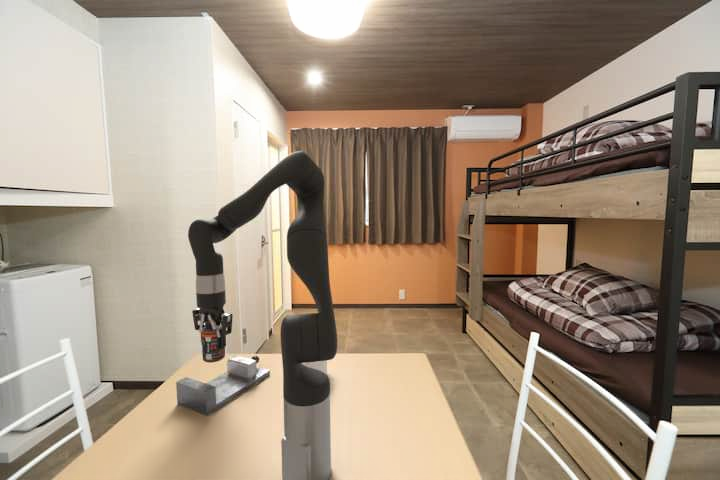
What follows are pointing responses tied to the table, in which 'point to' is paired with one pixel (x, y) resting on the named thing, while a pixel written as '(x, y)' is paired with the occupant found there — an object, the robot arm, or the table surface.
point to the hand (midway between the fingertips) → (213, 346)
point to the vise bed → (214, 391)
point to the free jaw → (242, 366)
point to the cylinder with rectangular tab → (317, 365)
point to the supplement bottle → (211, 344)
